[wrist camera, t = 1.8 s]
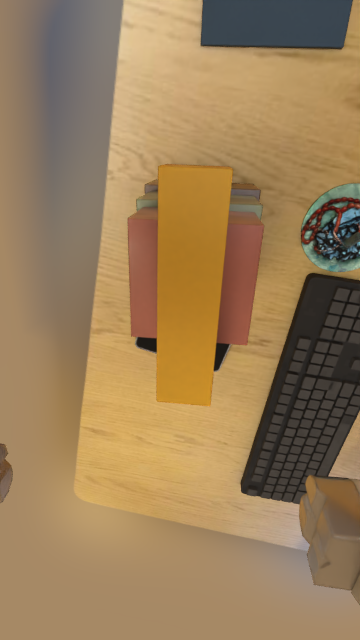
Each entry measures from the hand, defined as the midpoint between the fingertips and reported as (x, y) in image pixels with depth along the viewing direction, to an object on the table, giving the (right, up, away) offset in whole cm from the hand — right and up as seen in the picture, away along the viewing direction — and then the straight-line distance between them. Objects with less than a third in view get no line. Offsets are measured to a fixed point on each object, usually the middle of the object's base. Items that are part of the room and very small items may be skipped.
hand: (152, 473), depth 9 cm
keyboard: (+18, -7, +36) cm, 41 cm away
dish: (+18, +14, +26) cm, 35 cm away
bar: (+2, +6, +12) cm, 14 cm away
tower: (+3, +14, +28) cm, 31 cm away
